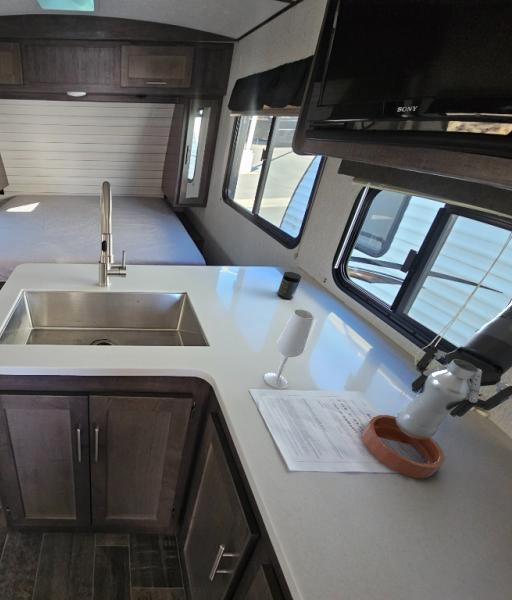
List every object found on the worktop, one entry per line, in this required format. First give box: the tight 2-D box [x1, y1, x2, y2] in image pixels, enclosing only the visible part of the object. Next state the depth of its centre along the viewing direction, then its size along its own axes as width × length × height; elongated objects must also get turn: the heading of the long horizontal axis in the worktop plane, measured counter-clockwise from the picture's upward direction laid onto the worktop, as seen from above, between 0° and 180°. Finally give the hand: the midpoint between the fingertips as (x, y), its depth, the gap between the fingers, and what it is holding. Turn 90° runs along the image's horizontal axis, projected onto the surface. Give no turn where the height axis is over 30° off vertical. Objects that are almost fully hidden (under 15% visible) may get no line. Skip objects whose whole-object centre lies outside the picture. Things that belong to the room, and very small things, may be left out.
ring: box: [361, 414, 445, 479], centre depth 75 cm, size 14×14×6 cm
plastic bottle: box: [395, 359, 478, 439], centre depth 67 cm, size 6×7×20 cm
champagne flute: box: [263, 308, 315, 390], centre depth 90 cm, size 7×7×24 cm
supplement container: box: [277, 271, 302, 300], centre depth 139 cm, size 7×7×10 cm
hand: (432, 402), depth 66 cm, fingers closed on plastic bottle, 6 cm apart
